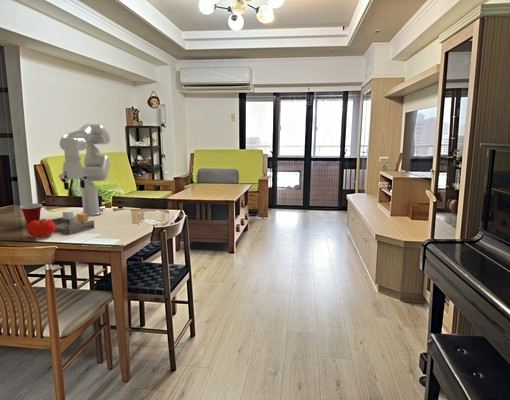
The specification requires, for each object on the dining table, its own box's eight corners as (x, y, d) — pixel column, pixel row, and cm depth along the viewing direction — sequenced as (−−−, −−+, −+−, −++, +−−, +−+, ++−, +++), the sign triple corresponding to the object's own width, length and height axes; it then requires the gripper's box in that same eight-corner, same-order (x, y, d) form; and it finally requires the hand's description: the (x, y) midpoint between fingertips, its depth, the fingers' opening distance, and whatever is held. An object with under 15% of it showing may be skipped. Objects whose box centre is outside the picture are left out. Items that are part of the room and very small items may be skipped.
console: (67, 223, 207) (67, 216, 206) (94, 228, 196) (93, 220, 195) (42, 229, 194) (41, 221, 193) (69, 234, 183) (68, 226, 182)
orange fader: (82, 222, 198) (81, 213, 197) (88, 223, 195) (87, 213, 194) (77, 223, 195) (76, 214, 194) (83, 224, 193) (82, 214, 192)
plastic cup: (20, 228, 195) (18, 207, 193) (23, 224, 205) (20, 204, 203) (43, 226, 200) (41, 205, 198) (44, 222, 210) (42, 202, 208)
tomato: (63, 232, 186) (62, 216, 184) (48, 239, 173) (47, 222, 172) (38, 232, 186) (36, 216, 185) (21, 239, 174) (19, 222, 172)
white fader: (68, 219, 204) (67, 210, 203) (73, 220, 201) (72, 211, 200) (63, 220, 201) (62, 211, 200) (68, 221, 199) (67, 212, 198)
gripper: (82, 158, 210) (84, 186, 213) (53, 159, 195) (56, 190, 198) (90, 158, 207) (92, 187, 209) (61, 160, 192) (64, 190, 194)
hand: (74, 188), depth 204 cm, fingers open, 9 cm apart
